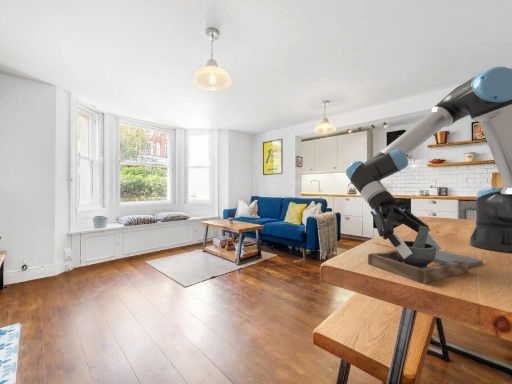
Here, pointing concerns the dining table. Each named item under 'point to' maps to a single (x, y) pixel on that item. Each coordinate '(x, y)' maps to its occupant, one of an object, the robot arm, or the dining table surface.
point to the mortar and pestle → (419, 250)
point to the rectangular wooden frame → (424, 275)
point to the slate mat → (454, 258)
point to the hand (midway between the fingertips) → (423, 253)
